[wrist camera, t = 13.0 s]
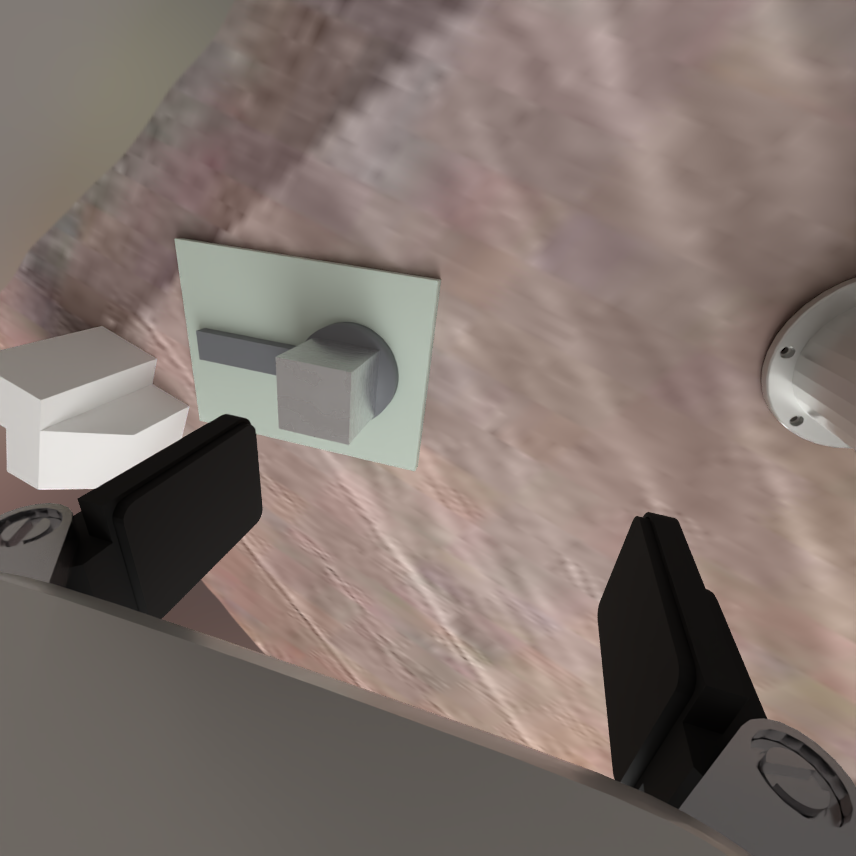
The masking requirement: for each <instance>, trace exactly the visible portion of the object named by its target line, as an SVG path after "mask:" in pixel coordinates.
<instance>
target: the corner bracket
mask: <svg viewBox="0 0 856 856" xmlns="http://www.w3.org/2000/svg"><path fill="white" fill-rule="evenodd" d="M156 362H157V358H155V357H153V356H152V355H150V354H148V353H147V352H145V351H143V350H142V349H140V348H138V347H137V346H135V345H133V344H132V343H130V342H128V341H127V340H125V339H123V338H122V337H120V336H118V335H117V334H115V333H113V332H112V331H110V330H108V329H106V328H105V327H103V326H100V327H95V328H91V329H87V330H83V331H79V332H75V333H70V334H66V335H62V336H58V337H54V338H50V339H45V340H41V341H37V342H33V343H29V344H25V345H20V346H16V347H12V348H8V349H4V350H0V425H1V426H3V427H5V428H6V443H7V444H6V446H7V472H9V473H11V474H13V475H14V476H16V477H18V478H19V479H21V480H23V481H24V482H26V483H28V484H30V485H31V486H33V487H35V488H36V489H38V490H47V489H95V488H97V487H99V486H101V485H102V484H104V483H106V482H107V481H109V480H111V479H113V478H114V477H116V476H118V475H120V474H121V473H123V472H125V471H126V470H128V469H130V468H132V467H133V466H135V465H137V464H138V463H140V462H142V461H144V460H145V459H147V458H149V457H151V456H152V455H154V454H156V453H157V452H159V451H161V450H163V449H164V448H166V447H168V446H169V445H171V444H173V443H175V442H176V441H178V440H180V439H182V435H183V431H184V427H185V423H186V418H187V414H188V410H189V405H187V404H185V403H184V402H182V401H180V400H179V399H177V398H175V397H174V396H172V395H170V394H169V393H167V392H165V391H164V390H162V389H160V388H158V387H157V386H155V385H153V378H154V373H155V368H156Z"/></svg>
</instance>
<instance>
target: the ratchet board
mask: <svg viewBox="0 0 856 856" xmlns="http://www.w3.org/2000/svg"><path fill="white" fill-rule="evenodd" d="M175 246H176V253H177V260H178V268H179V275H180V282H181V289H182V296H183V303H184V310H185V318H186V325H187V332H188V339H189V346H190V353H191V360H192V368H193V375H194V382H195V389H196V396H197V403H198V410H199V418H200V421H204V422H208V423H209V422H211V421H213V420H214V419H216V418H218V417H219V416H221V415H224V414H230V415H234V416H239V417H243V418H247V419H248V420H249V421H250V422H251V425H252V426H254V428H255V430H256V434H259V435H263V436H267V437H272V438H276V439H280V440H284V441H289V442H293V443H297V444H301V445H305V446H310V447H314V448H318V449H322V450H327V451H331V452H335V453H339V454H344V455H348V456H352V457H356V458H361V459H365V460H369V461H373V462H377V463H382V464H386V465H390V466H394V467H399V468H403V469H407V470H411V471H416V469H417V467H418V460H419V452H420V444H421V436H422V428H423V420H424V412H425V404H426V396H427V388H428V380H429V372H430V364H431V356H432V348H433V340H434V332H435V324H436V316H437V308H438V300H439V292H440V284H441V279H435V278H429V277H423V276H417V275H410V274H404V273H398V272H392V271H385V270H379V269H373V268H367V267H360V266H354V265H348V264H341V263H335V262H329V261H323V260H316V259H310V258H304V257H298V256H291V255H285V254H279V253H273V252H266V251H260V250H254V249H247V248H241V247H235V246H229V245H222V244H216V243H210V242H204V241H197V240H191V239H185V238H177V239H175ZM312 338H319V339H324V340H329V341H334V342H340V343H345V344H350V345H355V346H360V347H365V348H370V349H376V350H380V355H379V370H378V384H377V398H376V412H375V416H374V417H373V418H372V419H371V420H370V421H369V422H368V424H367V425H366V426H365V427H364V428H363V429H362V430H361V432H360V433H359V434H358V435H357V436H356V437H355V438H354V440H353V441H352V442H351V443H350V444H349V445H346V444H342V443H338V442H334V441H329V440H325V439H321V438H317V437H312V436H308V435H304V434H300V433H295V432H291V431H287V430H282V429H279V424H278V402H277V379H276V356H278V355H280V354H282V353H284V352H286V351H288V350H290V349H292V348H294V347H296V346H298V345H300V344H302V343H304V342H306V341H308V340H310V339H312Z"/></svg>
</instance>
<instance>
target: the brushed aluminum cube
mask: <svg viewBox="0 0 856 856" xmlns="http://www.w3.org/2000/svg"><path fill="white" fill-rule="evenodd" d="M379 355H380V350H376V349H370V348H365V347H360V346H355V345H350V344H345V343H340V342H334V341H329V340H324V339H319V338H312V339H310V340H308V341H306V342H304V343H302V344H300V345H298V346H296V347H294V348H292V349H290V350H288V351H286V352H284V353H282V354H280V355H278V356H276V379H277V402H278V424H279V429H282V430H287V431H291V432H295V433H300V434H304V435H308V436H312V437H317V438H321V439H325V440H329V441H334V442H338V443H342V444H346V445H349V444H350V443H351V442H352V441H353V440H354V438H355V437H356V436H357V435H358V434H359V433H360V432H361V430H362V429H363V428H364V427H365V426H366V425H367V424H368V422H369V421H370V420H371V419H372V418H373V417H374V416H375V412H376V398H377V384H378V370H379Z"/></svg>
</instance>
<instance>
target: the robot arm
mask: <svg viewBox="0 0 856 856" xmlns="http://www.w3.org/2000/svg"><path fill="white" fill-rule="evenodd" d="M785 347H786V348H785ZM783 348H785V350H784V351H783V352H781V350H782V349H783ZM761 384H762V391H763V397H764V399H765V401H766V404H767V406H768V408H769V410H770V411H771V413H772V414H773V415H774V416H775V418H776V419H777V420H778V421H779V422H780V423H781V424H782V425H783V426H784V427H786V428H787V429H788V430H789V431H791V432H793V433H794V434H796V435H797V436H799V437H801V438H802V439H805V440H808V441H810V442H813V443H816V444H819V445H824V446H829V447H834V448H852V449H854V450H855V451H856V278H853V279H850V280H847V281H844V282H842V283H840V284H838V285H836V286H834V287H832V288H830V289H828V290H826V291H824V292H823V293H821V294H820V295H818V296H817V297H815V298H814V299H813V300H811V301H810V302H808V303H807V304H805V305H804V306H803V307H802V308H801V309H800V310H799V311H798V312H796V313H795V314H794V315H793V316H792V317H791V318H790V319H789V320H788V321H787V322H786V324H785V325H784V326H783V327H782V329H781V330H780V331H779V333H778V334H777V335H776V337H775V339H774V340H773V342H772V344H771V346H770V348H769V350H768V352H767V355H766V358H765V361H764V364H763V368H762V379H761ZM792 417H793V418H792ZM78 502H79V505H80V508H81V512H79V513H77V514H76V515H74V516H73V513H72V512H71V510H70V509H69V508H68V507H66V506H63V505H61V504H52V503H46V504H35V505H31V506H26V507H21V508H18V509H15V510H12V511H9V512H7V513H4V514H3V515H0V856H856V787H855V785H854V783H853V782H852V780H851V778H850V777H849V776H848V775H847V774H846V772H845V771H844V770H843V769H842V768H841V766H840V765H839V764H838V763H837V762H836V761H835V759H833V758H832V757H831V756H830V755H829V754H828V753H827V752H826V751H825V750H824V749H822V748H821V747H820V746H819V745H818V744H817V743H815V742H814V741H813V740H811V739H810V738H808V737H807V736H805V735H804V734H802V733H801V732H799V731H798V730H796V729H794V728H791V727H789V726H787V725H785V724H783V723H781V722H778V721H773V720H769V719H767V717H766V715H765V712H764V710H763V708H762V705H761V703H760V701H759V698H758V696H757V693H756V691H755V689H754V686H753V684H752V682H751V679H750V677H749V674H748V672H747V670H746V667H745V665H744V662H743V660H742V658H741V655H740V653H739V651H738V648H737V646H736V643H735V641H734V639H733V636H732V634H731V632H730V629H729V627H728V624H727V622H726V620H725V617H724V615H723V613H722V610H721V608H720V605H719V603H718V601H717V599H716V597H715V595H714V594H713V593H712V592H711V591H709V590H707V589H705V586H704V584H703V581H702V579H701V576H700V574H699V571H698V569H697V566H696V564H695V561H694V559H693V556H692V554H691V551H690V549H689V546H688V544H687V541H686V539H685V536H684V534H683V531H682V529H681V526H680V524H679V522H678V520H677V519H675V518H672V517H668V516H663V515H659V514H655V513H650V512H647V513H646V514H645V515H644V516H643V517H639V516H636V517H635V518H634V520H633V522H632V524H631V527H630V529H629V532H628V534H627V536H626V539H625V541H624V544H623V546H622V549H621V551H620V554H619V556H618V559H617V561H616V564H615V566H614V568H613V571H612V573H611V576H610V578H609V581H608V583H607V586H606V588H605V591H604V593H603V596H602V598H601V600H600V603H599V608H598V627H599V637H600V647H601V657H602V667H603V677H604V687H605V697H606V707H607V717H608V727H609V737H610V747H611V757H612V767H613V774H614V779H615V780H614V779H611V778H609V777H606V776H604V775H602V774H599V773H597V772H594V771H592V770H589V769H586V768H584V767H581V766H578V765H575V764H573V763H570V762H567V761H565V760H562V759H559V758H557V757H554V756H551V755H548V754H546V753H543V752H540V751H538V750H535V749H532V748H530V747H527V746H524V745H521V744H519V743H516V742H513V741H511V740H508V739H505V738H503V737H500V736H497V735H494V734H491V733H488V732H486V731H483V730H480V729H477V728H474V727H471V726H468V725H466V724H463V723H460V722H457V721H454V720H451V719H449V718H446V717H443V716H440V715H437V714H434V713H432V712H429V711H426V710H423V709H420V708H417V707H414V706H412V705H409V704H406V703H403V702H400V701H397V700H395V699H392V698H389V697H386V696H383V695H380V694H377V693H375V692H372V691H369V690H366V689H363V688H360V687H357V686H355V685H352V684H349V683H346V682H343V681H340V680H337V679H334V678H331V677H329V676H326V675H323V674H320V673H317V672H314V671H311V670H308V669H305V668H303V667H300V666H297V665H294V664H291V663H288V662H285V661H282V660H279V659H276V658H274V657H271V656H268V655H265V654H261V653H259V652H256V651H253V650H250V649H247V648H244V647H242V646H238V645H236V644H233V643H230V642H227V641H224V640H221V639H218V638H215V637H212V636H209V635H206V634H203V633H201V632H197V631H195V630H192V629H188V628H186V627H183V626H180V625H177V624H174V623H171V622H167V621H165V620H162V618H163V617H164V616H165V615H166V614H167V613H168V612H169V611H170V610H171V609H172V608H173V607H174V606H175V605H176V604H177V603H178V602H179V601H180V600H181V599H182V598H183V597H184V596H185V595H186V594H187V593H188V592H189V591H190V590H191V589H192V588H193V587H194V586H195V585H196V584H197V583H198V582H199V581H200V580H201V579H202V578H203V577H204V576H205V575H206V574H207V573H208V572H209V571H210V570H211V569H212V568H213V567H214V566H215V565H216V564H217V563H218V562H219V561H220V560H221V559H222V558H223V557H224V556H225V555H226V554H227V553H228V552H229V551H230V550H231V549H232V548H233V547H234V546H235V545H236V544H237V543H238V542H239V541H240V540H241V539H242V538H243V537H244V536H245V535H246V534H247V533H248V531H249V530H250V529H251V528H252V527H253V526H254V525H255V524H256V523H257V522H258V521H259V519H260V517H261V515H262V497H261V485H260V474H259V462H258V450H257V439H256V430H255V428H254V426H252V425H251V422H250V421H249V420H248V419H247V418H243V417H239V416H234V415H230V414H224V415H221V416H219V417H218V418H216V419H214V420H213V421H211V422H209V423H207V424H206V425H204V426H202V427H201V428H199V429H197V430H195V431H194V432H192V433H190V434H188V435H187V436H185V437H183V438H182V439H180V440H178V441H176V442H175V443H173V444H171V445H169V446H168V447H166V448H164V449H163V450H161V451H159V452H157V453H156V454H154V455H152V456H151V457H149V458H147V459H145V460H144V461H142V462H140V463H138V464H137V465H135V466H133V467H132V468H130V469H128V470H126V471H125V472H123V473H121V474H120V475H118V476H116V477H114V478H113V479H111V480H109V481H107V482H106V483H104V484H102V485H101V486H99V487H97V488H95V489H94V490H92V491H90V492H88V493H87V494H85V495H83V496H82V497H80V498H78Z"/></svg>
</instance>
